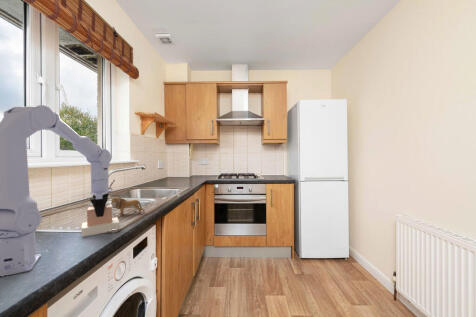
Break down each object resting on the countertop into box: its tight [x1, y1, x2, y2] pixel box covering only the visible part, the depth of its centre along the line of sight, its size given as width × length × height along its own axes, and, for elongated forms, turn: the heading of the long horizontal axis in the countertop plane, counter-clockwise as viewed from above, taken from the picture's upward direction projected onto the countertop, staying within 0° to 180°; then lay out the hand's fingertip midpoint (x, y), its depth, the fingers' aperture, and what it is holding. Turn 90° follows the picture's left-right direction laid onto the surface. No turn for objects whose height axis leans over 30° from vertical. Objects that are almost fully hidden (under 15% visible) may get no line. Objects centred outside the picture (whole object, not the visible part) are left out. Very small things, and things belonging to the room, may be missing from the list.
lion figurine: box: [110, 196, 145, 216], centre depth 106 cm, size 15×5×9 cm, turn 121°
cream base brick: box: [81, 216, 120, 238], centre depth 83 cm, size 8×12×4 cm, turn 125°
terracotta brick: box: [86, 204, 113, 226], centre depth 83 cm, size 4×8×6 cm, turn 120°
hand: (100, 214), depth 83 cm, fingers open, 7 cm apart
